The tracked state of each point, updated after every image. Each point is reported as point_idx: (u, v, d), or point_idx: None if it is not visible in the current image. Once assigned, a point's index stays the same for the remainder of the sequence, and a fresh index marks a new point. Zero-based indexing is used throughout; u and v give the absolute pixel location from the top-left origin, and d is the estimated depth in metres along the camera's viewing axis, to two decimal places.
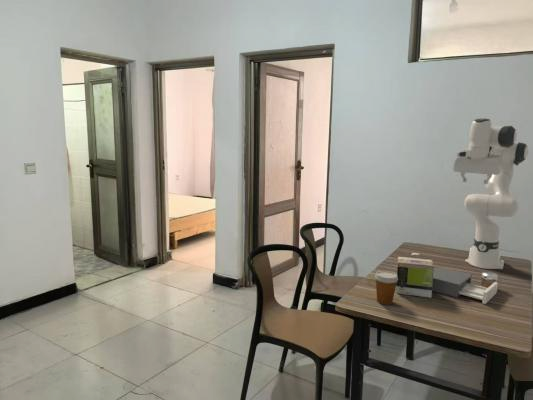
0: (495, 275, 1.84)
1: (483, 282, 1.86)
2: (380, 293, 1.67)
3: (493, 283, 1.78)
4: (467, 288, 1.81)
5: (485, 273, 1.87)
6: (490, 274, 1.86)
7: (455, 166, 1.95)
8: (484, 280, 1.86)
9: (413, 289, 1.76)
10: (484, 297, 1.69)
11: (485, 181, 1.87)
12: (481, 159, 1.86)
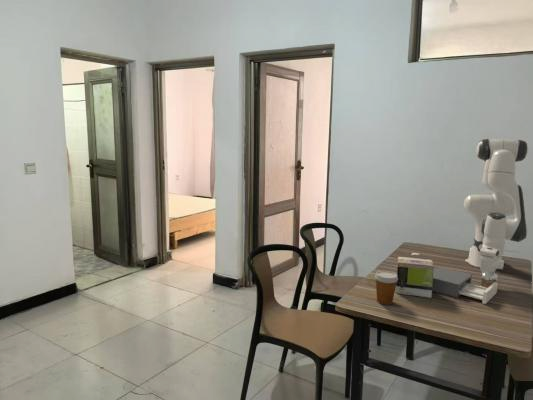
0: (495, 275, 1.84)
1: (483, 282, 1.86)
2: (380, 293, 1.67)
3: (493, 283, 1.78)
4: (467, 288, 1.81)
5: None
6: (490, 274, 1.86)
7: (490, 267, 1.77)
8: (484, 280, 1.86)
9: (413, 289, 1.76)
10: (484, 297, 1.69)
11: None
12: None
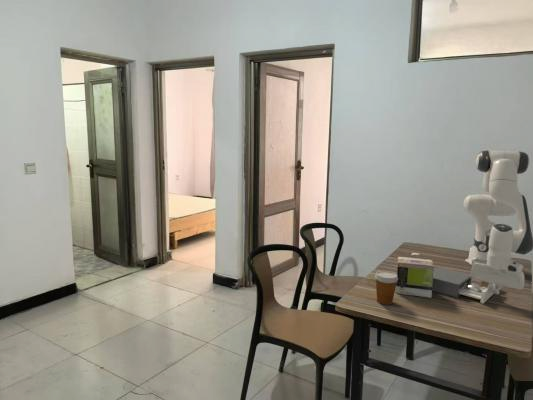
0: (479, 287, 1.77)
1: (483, 282, 1.86)
2: (380, 293, 1.67)
3: None
4: (465, 288, 1.81)
5: (469, 285, 1.80)
6: (474, 285, 1.79)
7: None
8: None
9: (413, 289, 1.76)
10: (482, 297, 1.69)
11: None
12: None
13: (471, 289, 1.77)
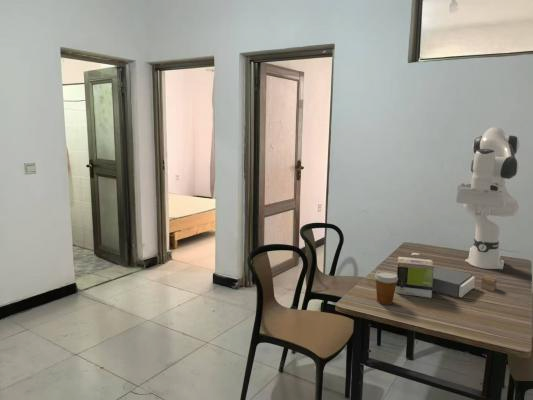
0: None
1: (483, 282, 1.86)
2: (380, 293, 1.67)
3: None
4: None
5: None
6: None
7: None
8: (484, 280, 1.86)
9: (413, 289, 1.76)
10: (460, 291, 1.75)
11: None
12: None
13: None
